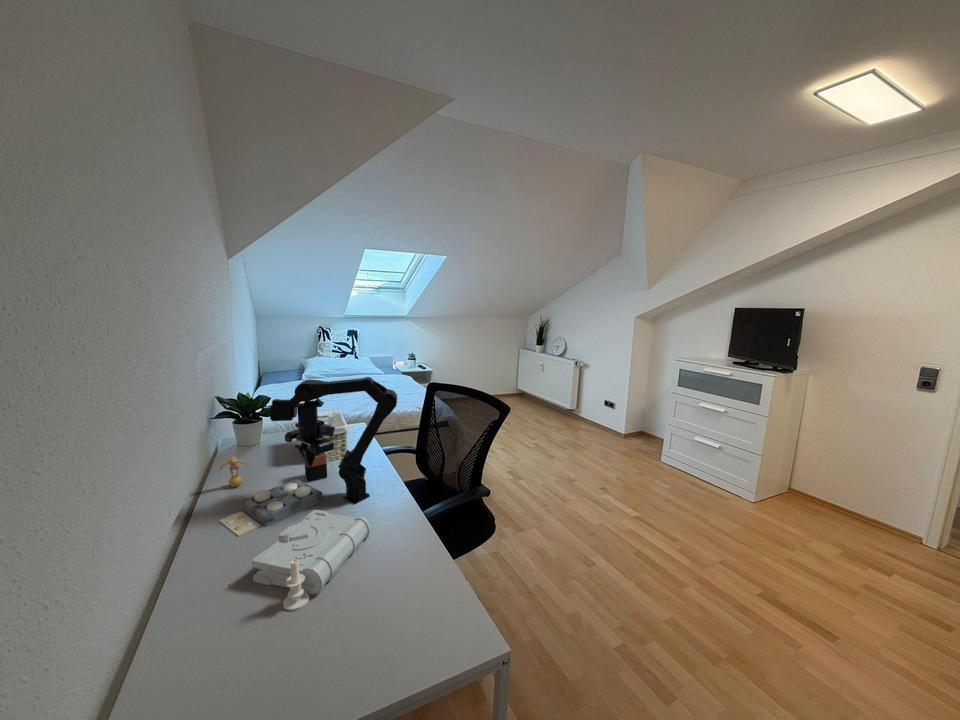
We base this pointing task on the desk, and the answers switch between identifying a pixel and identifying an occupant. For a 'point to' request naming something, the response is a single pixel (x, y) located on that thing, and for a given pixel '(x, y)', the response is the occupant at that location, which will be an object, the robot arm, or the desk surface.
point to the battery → (317, 468)
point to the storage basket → (335, 434)
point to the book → (312, 550)
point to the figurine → (236, 479)
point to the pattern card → (239, 523)
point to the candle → (295, 589)
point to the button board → (289, 503)
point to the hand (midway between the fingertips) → (310, 466)
